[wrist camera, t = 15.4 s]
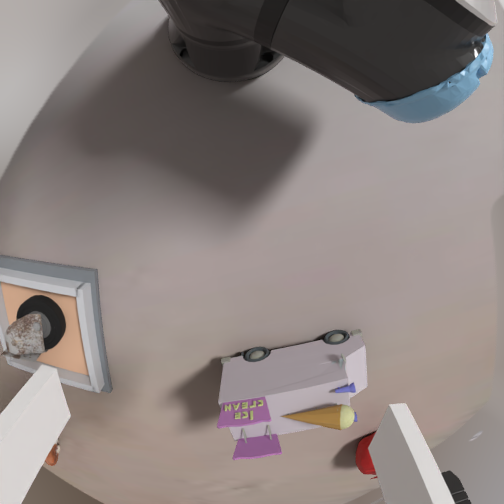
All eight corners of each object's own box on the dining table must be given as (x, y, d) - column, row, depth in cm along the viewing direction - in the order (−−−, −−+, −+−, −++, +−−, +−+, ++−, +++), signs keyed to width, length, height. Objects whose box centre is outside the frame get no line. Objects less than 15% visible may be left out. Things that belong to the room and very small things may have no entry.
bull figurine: (31, 404, 51) (14, 428, 43) (68, 447, 55) (55, 471, 47) (21, 406, 52) (4, 428, 44) (57, 447, 55) (44, 470, 47)
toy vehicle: (360, 368, 46) (389, 436, 32) (237, 393, 48) (231, 467, 33) (355, 318, 44) (392, 383, 29) (221, 346, 45) (208, 421, 31)
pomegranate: (354, 461, 54) (363, 495, 45) (349, 435, 51) (359, 472, 42) (399, 446, 53) (412, 478, 44) (399, 417, 50) (415, 452, 41)
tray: (-7, 253, 42) (-20, 260, 38) (97, 269, 42) (86, 278, 39) (16, 361, 48) (7, 370, 44) (112, 389, 48) (105, 402, 45)
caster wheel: (68, 293, 44) (72, 351, 46) (10, 286, 42) (16, 341, 43) (54, 307, 38) (61, 370, 39) (-8, 297, 35) (1, 358, 37)
